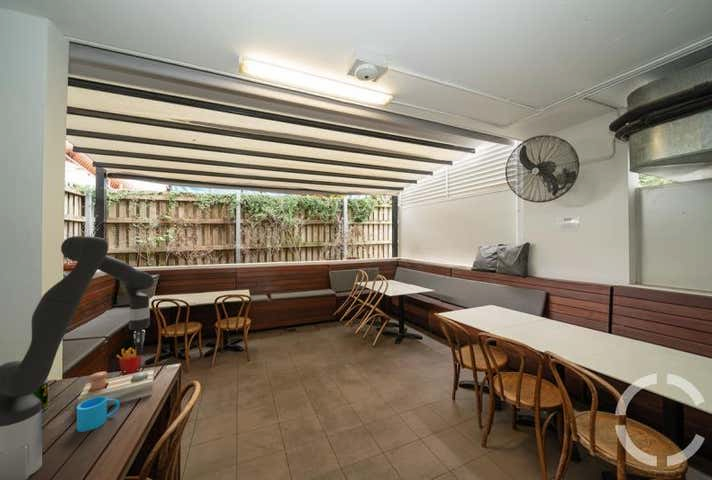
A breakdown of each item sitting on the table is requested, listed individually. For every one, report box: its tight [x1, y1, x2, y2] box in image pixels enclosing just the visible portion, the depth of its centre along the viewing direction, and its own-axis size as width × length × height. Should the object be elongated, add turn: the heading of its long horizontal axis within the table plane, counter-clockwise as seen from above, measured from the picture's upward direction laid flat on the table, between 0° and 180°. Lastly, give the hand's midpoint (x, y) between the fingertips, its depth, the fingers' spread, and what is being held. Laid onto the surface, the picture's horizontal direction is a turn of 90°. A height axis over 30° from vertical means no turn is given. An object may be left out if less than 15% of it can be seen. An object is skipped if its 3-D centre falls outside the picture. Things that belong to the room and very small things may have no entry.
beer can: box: [33, 377, 50, 412], centre depth 112 cm, size 5×5×12 cm
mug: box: [76, 397, 121, 433], centre depth 105 cm, size 12×8×8 cm
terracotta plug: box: [89, 370, 108, 392], centre depth 118 cm, size 5×5×7 cm
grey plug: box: [132, 371, 147, 382], centre depth 126 cm, size 5×5×7 cm
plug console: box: [77, 368, 155, 407], centre depth 122 cm, size 14×24×6 cm, turn 125°
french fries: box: [116, 347, 143, 376], centre depth 138 cm, size 9×8×15 cm
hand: (139, 354), depth 126 cm, fingers closed
